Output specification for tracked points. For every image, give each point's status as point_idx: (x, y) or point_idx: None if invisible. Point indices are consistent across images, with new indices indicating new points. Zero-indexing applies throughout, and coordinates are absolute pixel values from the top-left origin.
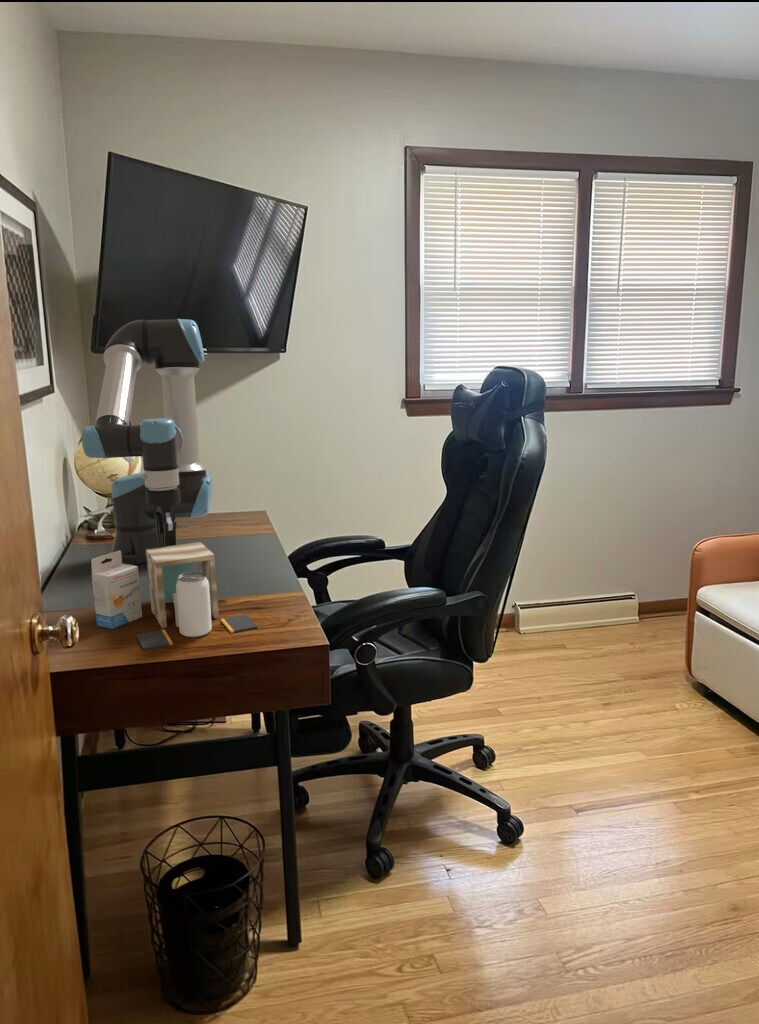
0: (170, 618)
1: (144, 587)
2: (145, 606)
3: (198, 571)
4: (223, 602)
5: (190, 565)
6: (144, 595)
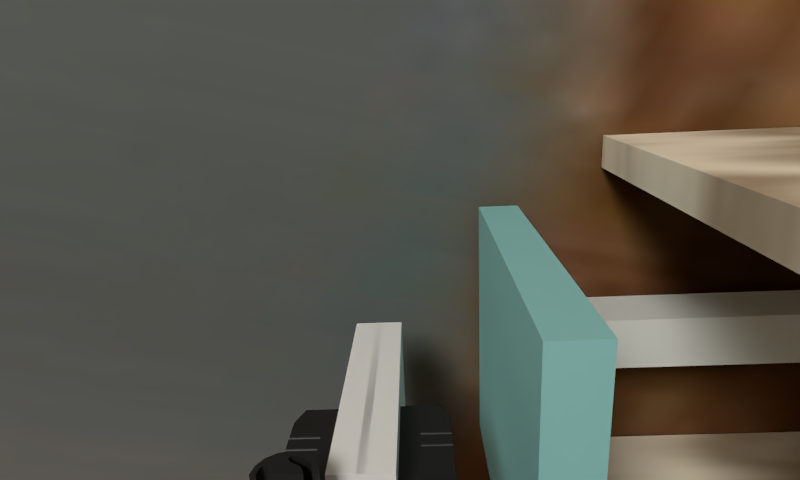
0: (783, 389)
1: (99, 436)
2: (482, 476)
3: (735, 235)
4: (701, 6)
5: (595, 311)
6: (267, 456)
